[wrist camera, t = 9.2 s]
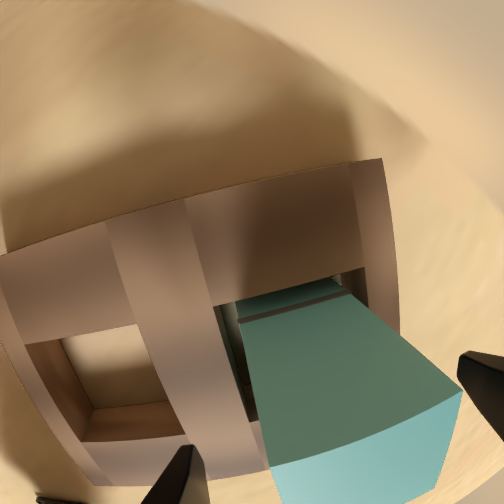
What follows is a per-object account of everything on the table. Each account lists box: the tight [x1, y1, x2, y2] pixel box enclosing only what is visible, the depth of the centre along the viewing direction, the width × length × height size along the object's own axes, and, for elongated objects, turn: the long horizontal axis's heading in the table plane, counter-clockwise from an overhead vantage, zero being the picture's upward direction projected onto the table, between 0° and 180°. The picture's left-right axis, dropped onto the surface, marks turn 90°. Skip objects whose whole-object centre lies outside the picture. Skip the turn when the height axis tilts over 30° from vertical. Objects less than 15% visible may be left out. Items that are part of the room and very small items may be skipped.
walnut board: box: [0, 158, 400, 486], centre depth 13 cm, size 14×18×3 cm
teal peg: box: [235, 277, 463, 504], centre depth 10 cm, size 4×4×10 cm
